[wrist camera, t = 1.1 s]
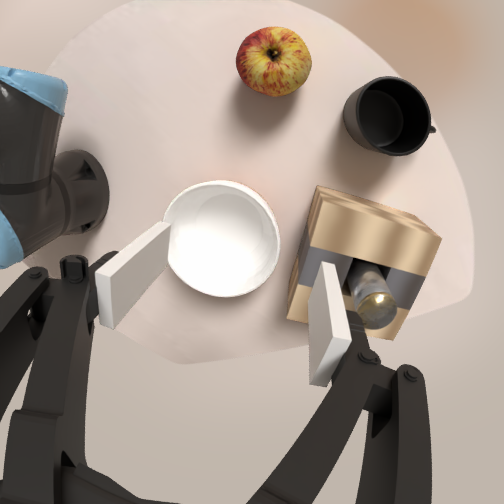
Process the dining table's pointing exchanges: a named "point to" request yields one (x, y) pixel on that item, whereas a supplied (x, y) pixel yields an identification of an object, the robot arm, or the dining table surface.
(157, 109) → the dining table surface
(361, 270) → the peg
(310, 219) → the socket block
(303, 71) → the apple
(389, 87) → the mug
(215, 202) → the bowl
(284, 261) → the dining table surface
